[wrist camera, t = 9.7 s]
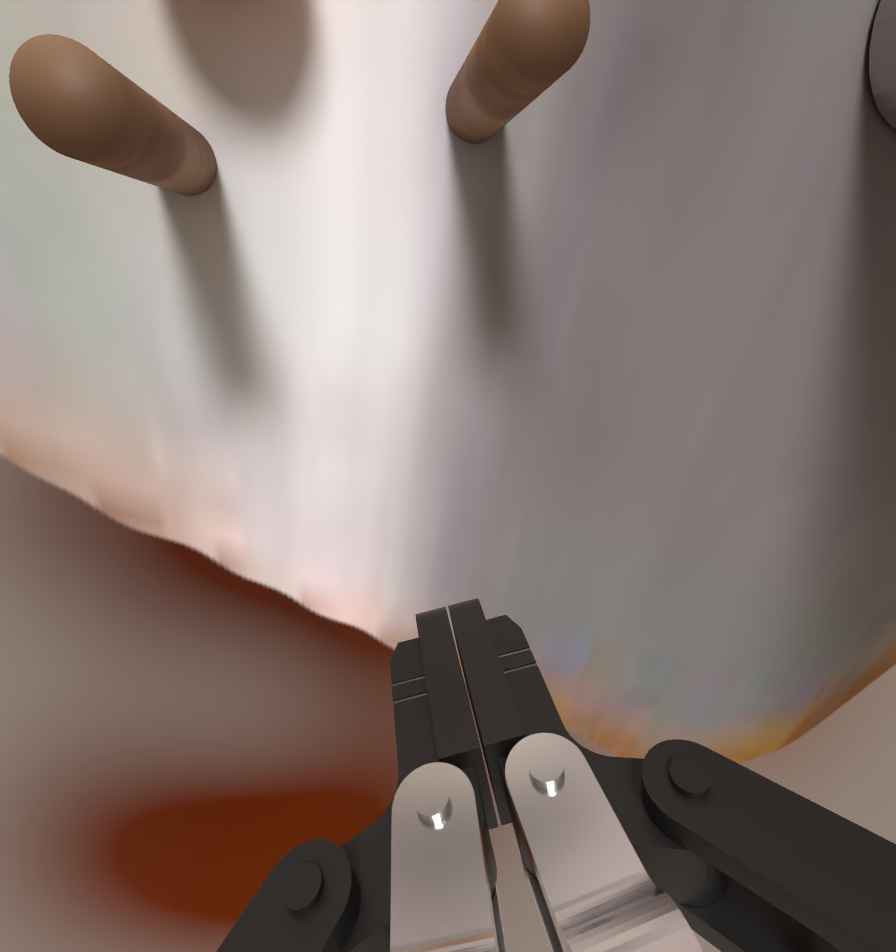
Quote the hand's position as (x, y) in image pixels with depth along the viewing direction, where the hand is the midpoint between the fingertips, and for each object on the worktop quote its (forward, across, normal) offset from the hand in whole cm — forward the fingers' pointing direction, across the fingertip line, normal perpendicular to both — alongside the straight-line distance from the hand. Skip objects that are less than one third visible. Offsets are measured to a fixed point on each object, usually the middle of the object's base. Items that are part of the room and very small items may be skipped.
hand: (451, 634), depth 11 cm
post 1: (+17, +6, -13) cm, 22 cm away
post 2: (+17, -6, -13) cm, 22 cm away
